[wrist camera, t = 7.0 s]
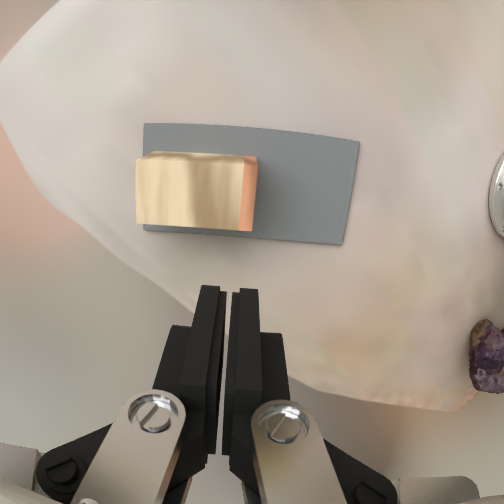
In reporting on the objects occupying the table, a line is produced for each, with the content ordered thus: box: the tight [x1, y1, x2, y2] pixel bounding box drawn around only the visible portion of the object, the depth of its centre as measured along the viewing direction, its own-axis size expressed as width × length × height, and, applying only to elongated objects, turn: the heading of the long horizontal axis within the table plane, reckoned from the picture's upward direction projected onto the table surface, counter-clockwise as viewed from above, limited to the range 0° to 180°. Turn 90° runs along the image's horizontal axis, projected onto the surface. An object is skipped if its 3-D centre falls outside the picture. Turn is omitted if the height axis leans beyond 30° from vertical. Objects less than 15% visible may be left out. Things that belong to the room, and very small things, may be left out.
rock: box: [469, 319, 504, 394], centre depth 35 cm, size 12×9×10 cm
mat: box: [143, 123, 359, 245], centre depth 28 cm, size 19×10×1 cm, turn 85°
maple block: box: [136, 151, 258, 231], centre depth 26 cm, size 5×5×9 cm
